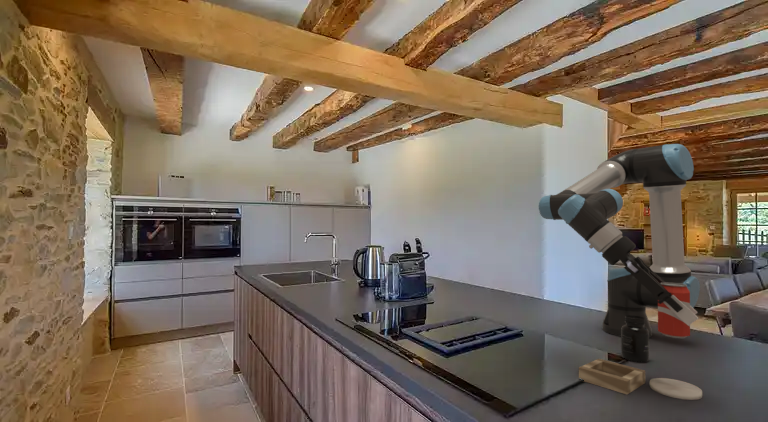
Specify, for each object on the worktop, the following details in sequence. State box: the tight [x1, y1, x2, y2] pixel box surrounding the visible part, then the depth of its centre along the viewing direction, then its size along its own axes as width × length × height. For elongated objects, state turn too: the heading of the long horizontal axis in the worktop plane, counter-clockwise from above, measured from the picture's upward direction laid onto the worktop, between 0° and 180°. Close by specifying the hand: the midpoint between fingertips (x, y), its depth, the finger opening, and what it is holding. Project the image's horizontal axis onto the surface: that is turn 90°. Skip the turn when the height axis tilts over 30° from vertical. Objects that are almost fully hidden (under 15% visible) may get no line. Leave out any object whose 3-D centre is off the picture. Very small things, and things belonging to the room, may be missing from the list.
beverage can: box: [657, 282, 691, 339], centre depth 96 cm, size 6×6×12 cm
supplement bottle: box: [620, 315, 650, 363], centre depth 117 cm, size 7×7×12 cm
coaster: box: [649, 377, 703, 401], centre depth 95 cm, size 10×10×1 cm
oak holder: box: [578, 358, 646, 395], centre depth 100 cm, size 11×11×3 cm
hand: (692, 318), depth 94 cm, fingers closed on beverage can, 6 cm apart
